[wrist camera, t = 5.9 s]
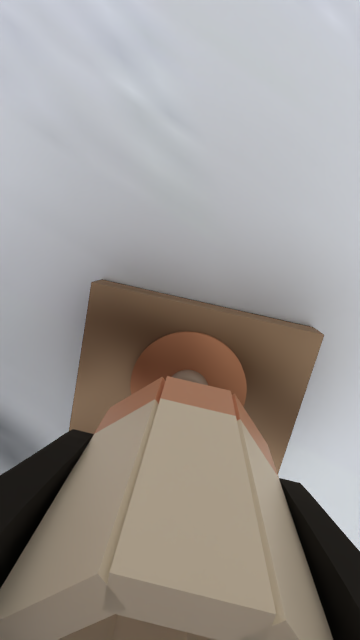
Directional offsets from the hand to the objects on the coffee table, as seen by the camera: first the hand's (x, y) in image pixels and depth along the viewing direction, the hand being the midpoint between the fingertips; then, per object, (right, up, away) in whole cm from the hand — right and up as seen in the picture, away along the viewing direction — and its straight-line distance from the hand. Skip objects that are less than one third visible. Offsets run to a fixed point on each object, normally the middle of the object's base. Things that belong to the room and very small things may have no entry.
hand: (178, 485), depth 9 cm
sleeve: (0, 0, +1) cm, 1 cm away
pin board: (-1, -5, +9) cm, 10 cm away
